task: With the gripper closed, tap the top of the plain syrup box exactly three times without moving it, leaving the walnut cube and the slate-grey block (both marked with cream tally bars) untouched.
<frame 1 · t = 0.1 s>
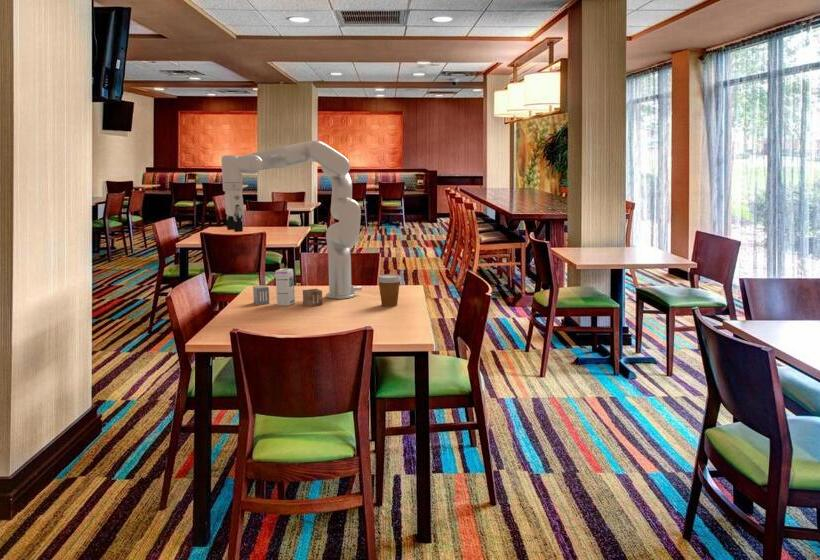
hand: (234, 230, 286), 31 cm above the table, fingers open, 9 cm apart
syrup box: (285, 304, 298), on the table
disposable coffee cup: (389, 305, 294), on the table
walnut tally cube: (312, 304, 296), on the table
slate tally block: (261, 303, 300), on the table
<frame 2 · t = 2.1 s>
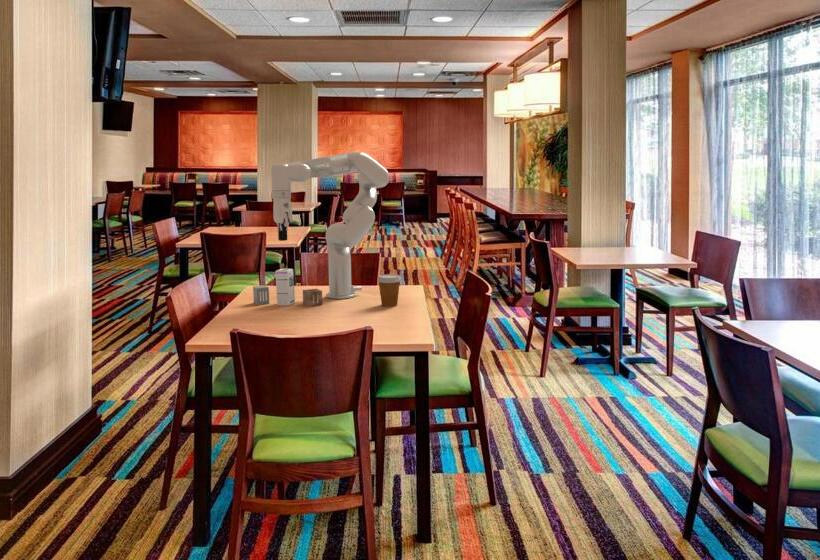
hand: (282, 240, 293), 26 cm above the table, fingers closed
nothing on the table moved.
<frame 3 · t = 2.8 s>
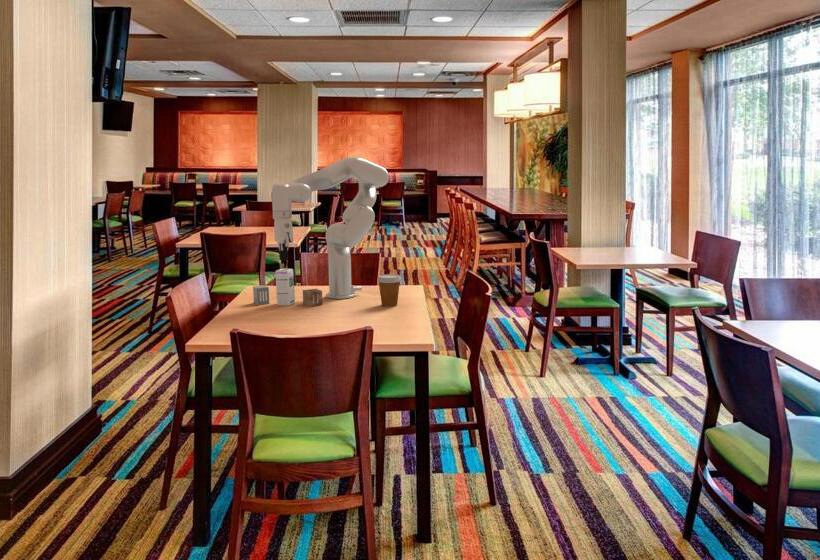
hand: (283, 259, 295), 18 cm above the table, fingers closed
nothing on the table moved.
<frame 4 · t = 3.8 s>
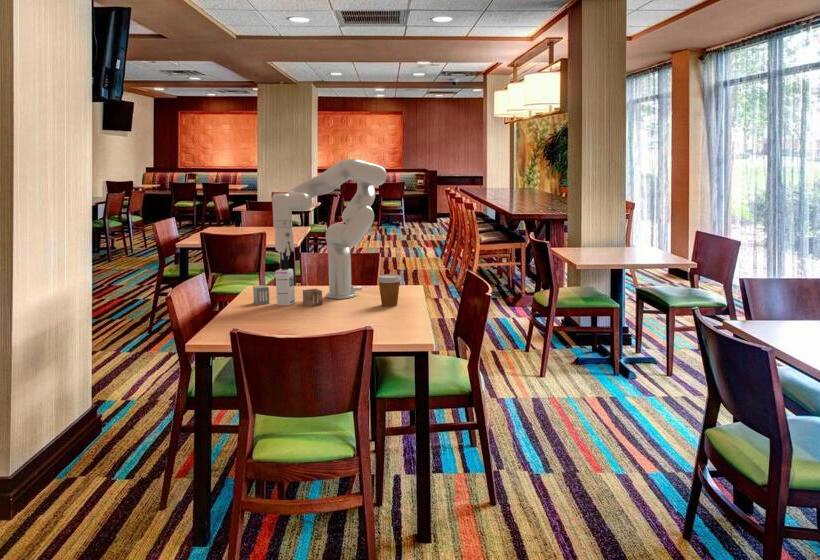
hand: (284, 268, 295), 15 cm above the table, fingers closed
nothing on the table moved.
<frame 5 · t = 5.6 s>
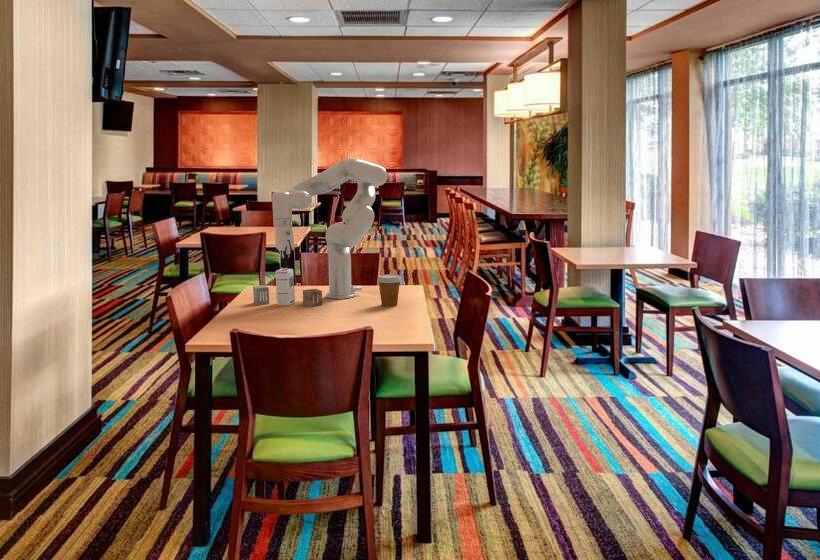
hand: (285, 267, 295), 15 cm above the table, fingers closed
nothing on the table moved.
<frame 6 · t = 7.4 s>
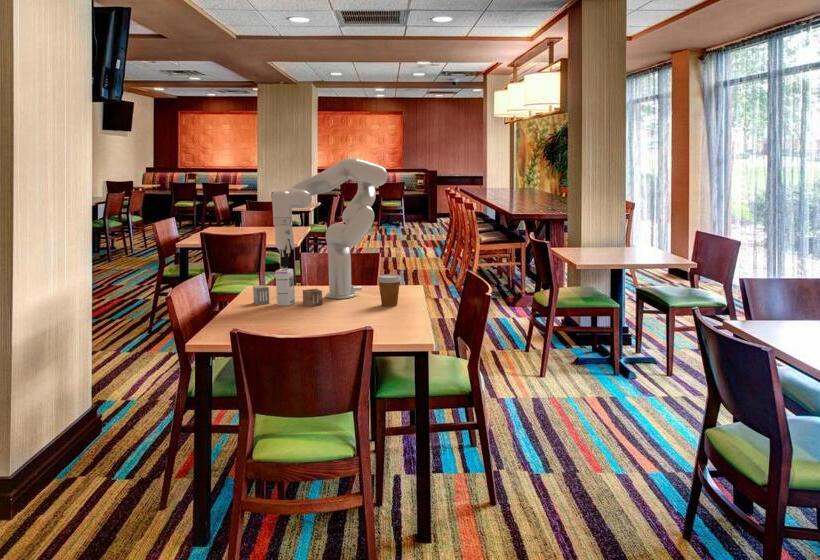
hand: (285, 266, 295), 16 cm above the table, fingers closed
nothing on the table moved.
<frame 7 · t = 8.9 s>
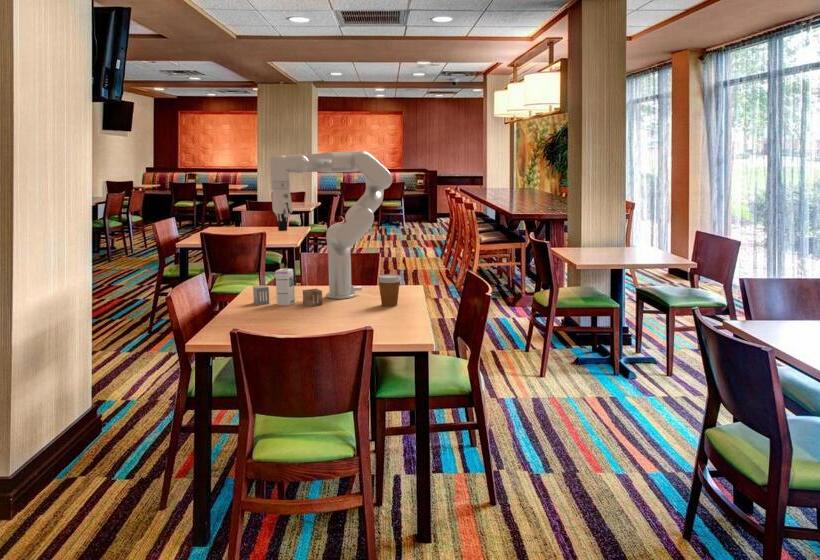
hand: (282, 230, 298), 30 cm above the table, fingers closed
nothing on the table moved.
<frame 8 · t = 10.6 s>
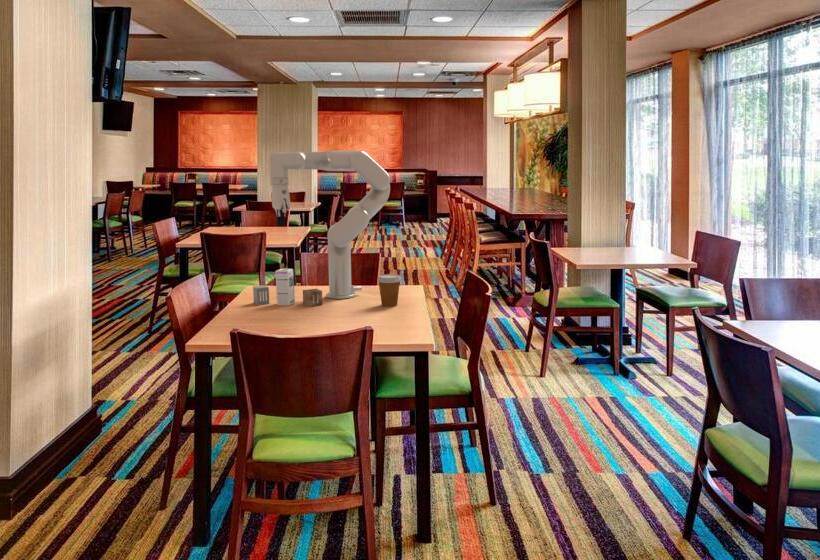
hand: (281, 225, 306), 31 cm above the table, fingers closed
nothing on the table moved.
at the end: syrup box moved 0.2 cm from its start; syrup box tilted 0°; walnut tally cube moved 0.1 cm from its start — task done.
